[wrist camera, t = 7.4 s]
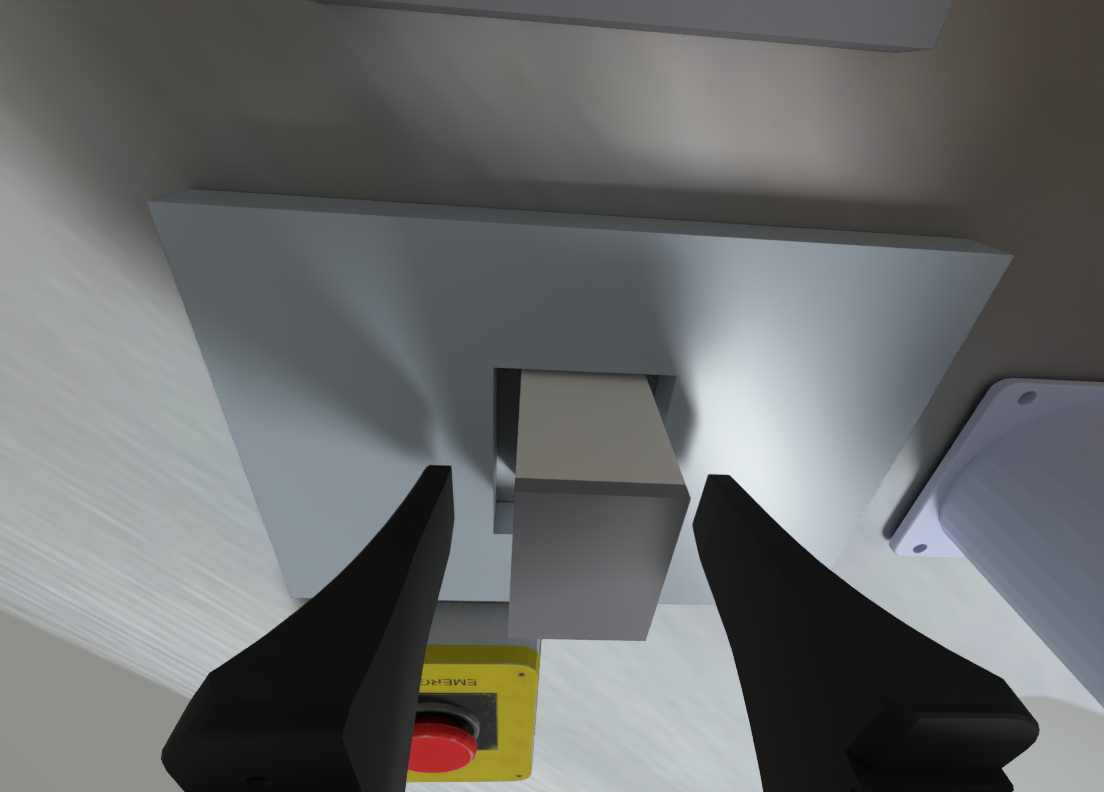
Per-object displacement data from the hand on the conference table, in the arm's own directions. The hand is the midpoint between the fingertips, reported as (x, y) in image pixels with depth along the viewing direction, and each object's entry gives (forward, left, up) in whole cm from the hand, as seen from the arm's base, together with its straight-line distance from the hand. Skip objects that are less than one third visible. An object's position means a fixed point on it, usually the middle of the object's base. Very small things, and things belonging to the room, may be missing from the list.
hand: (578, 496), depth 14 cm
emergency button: (+5, +15, -4) cm, 16 cm away
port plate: (0, 0, -3) cm, 3 cm away
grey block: (0, 0, -3) cm, 3 cm away
